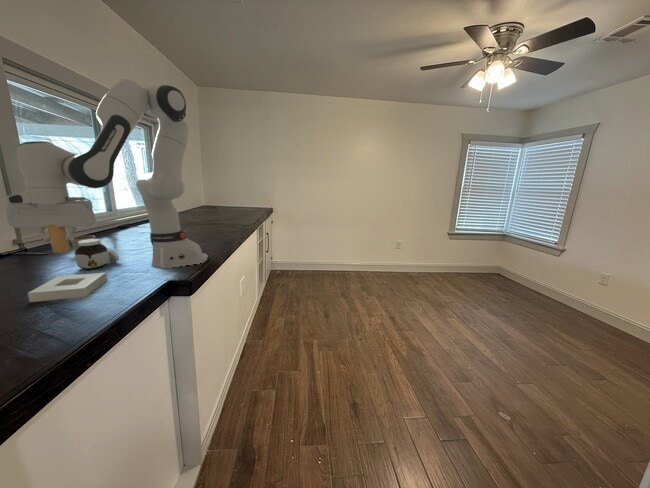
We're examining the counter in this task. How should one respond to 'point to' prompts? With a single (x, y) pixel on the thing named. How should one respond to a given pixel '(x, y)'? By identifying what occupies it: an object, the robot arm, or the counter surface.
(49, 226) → the amber upright block
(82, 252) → the spread jar
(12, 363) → the counter surface
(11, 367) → the counter surface
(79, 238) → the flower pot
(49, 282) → the housing
